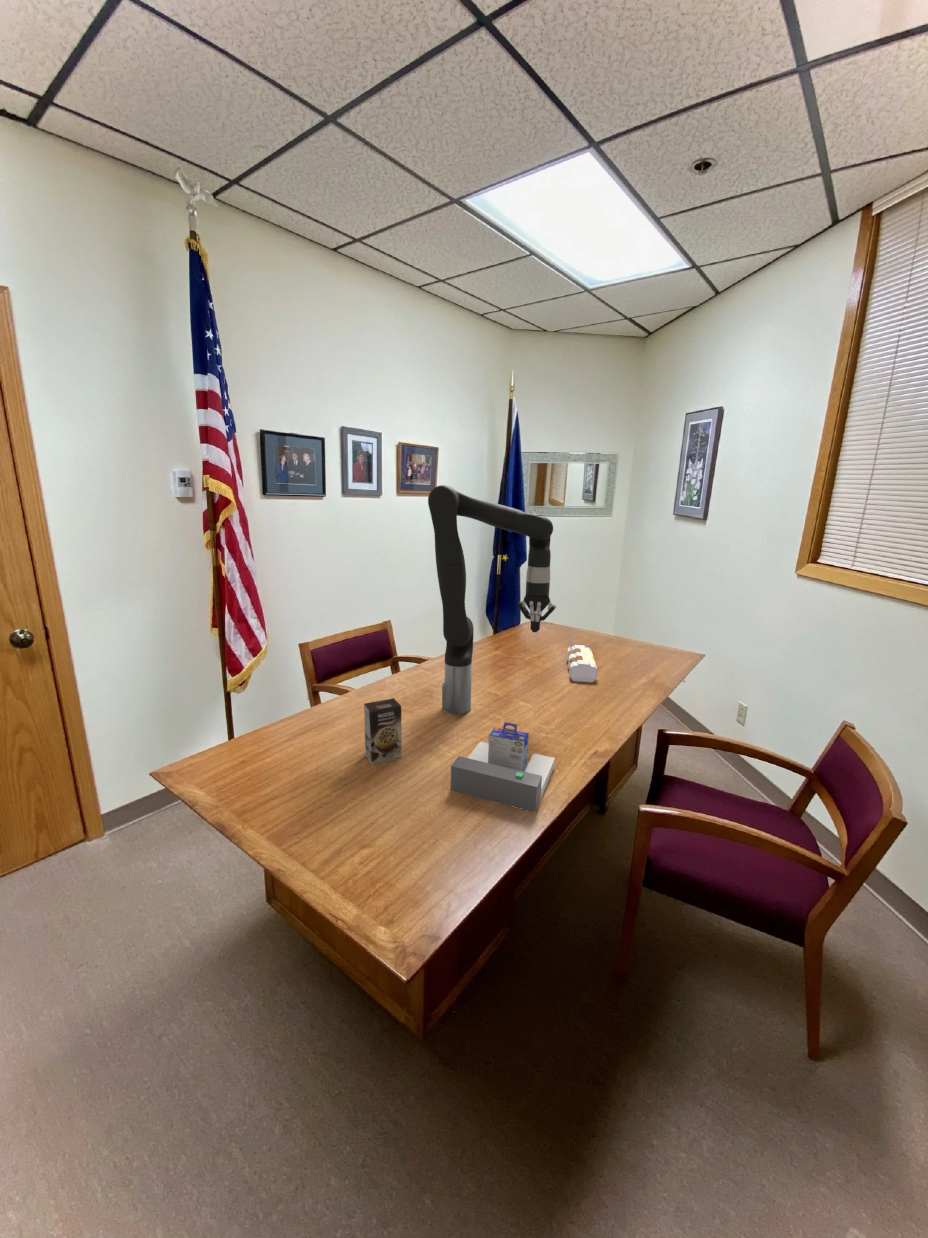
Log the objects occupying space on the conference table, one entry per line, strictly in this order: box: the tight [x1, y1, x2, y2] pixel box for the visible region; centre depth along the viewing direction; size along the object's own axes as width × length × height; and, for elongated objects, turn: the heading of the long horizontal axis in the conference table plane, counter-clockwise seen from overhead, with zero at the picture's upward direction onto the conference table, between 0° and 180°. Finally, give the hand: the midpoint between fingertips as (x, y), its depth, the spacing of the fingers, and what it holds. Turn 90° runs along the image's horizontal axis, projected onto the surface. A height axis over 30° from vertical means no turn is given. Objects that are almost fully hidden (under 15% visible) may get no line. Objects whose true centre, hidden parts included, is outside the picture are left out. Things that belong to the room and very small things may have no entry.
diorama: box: [566, 635, 598, 683], centre depth 204 cm, size 25×10×13 cm, turn 171°
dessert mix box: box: [363, 697, 403, 766], centre depth 135 cm, size 9×6×16 cm
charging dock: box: [450, 741, 556, 813], centre depth 127 cm, size 22×21×8 cm
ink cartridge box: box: [488, 721, 530, 771], centre depth 128 cm, size 10×6×14 cm, turn 71°
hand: (535, 631), depth 159 cm, fingers closed
